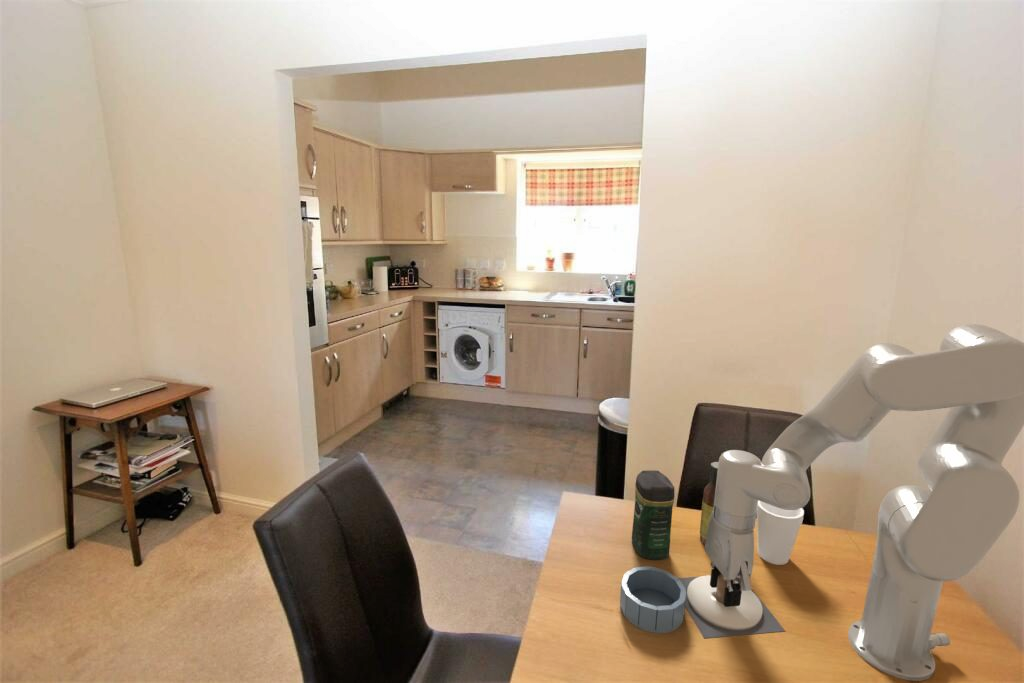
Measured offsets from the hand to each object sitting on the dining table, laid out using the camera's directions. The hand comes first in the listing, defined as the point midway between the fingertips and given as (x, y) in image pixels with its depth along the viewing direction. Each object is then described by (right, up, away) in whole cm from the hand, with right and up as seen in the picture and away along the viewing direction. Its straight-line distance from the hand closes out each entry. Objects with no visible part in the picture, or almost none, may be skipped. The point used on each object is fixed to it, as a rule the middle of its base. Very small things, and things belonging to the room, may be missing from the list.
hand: (724, 594), depth 102 cm
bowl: (-15, -3, -1) cm, 15 cm away
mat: (0, -2, +1) cm, 2 cm away
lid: (0, -2, 0) cm, 2 cm away
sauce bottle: (+6, +2, +21) cm, 22 cm away
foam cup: (+17, +1, +15) cm, 23 cm away
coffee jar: (-10, +2, +18) cm, 21 cm away
